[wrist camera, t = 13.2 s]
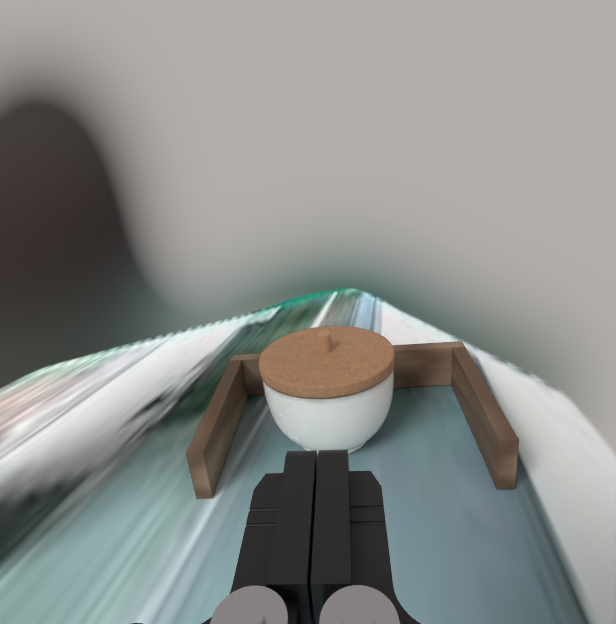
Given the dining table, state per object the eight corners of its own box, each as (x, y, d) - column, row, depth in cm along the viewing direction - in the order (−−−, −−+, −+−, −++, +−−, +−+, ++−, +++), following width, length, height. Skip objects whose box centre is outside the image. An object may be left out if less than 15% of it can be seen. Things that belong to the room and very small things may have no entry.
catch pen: (196, 498, 34) (186, 453, 32) (238, 389, 48) (232, 355, 47) (515, 488, 32) (518, 440, 30) (460, 378, 46) (461, 341, 44)
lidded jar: (375, 491, 33) (369, 374, 30) (246, 460, 37) (228, 356, 34) (410, 409, 42) (408, 312, 38) (303, 392, 46) (293, 304, 43)
